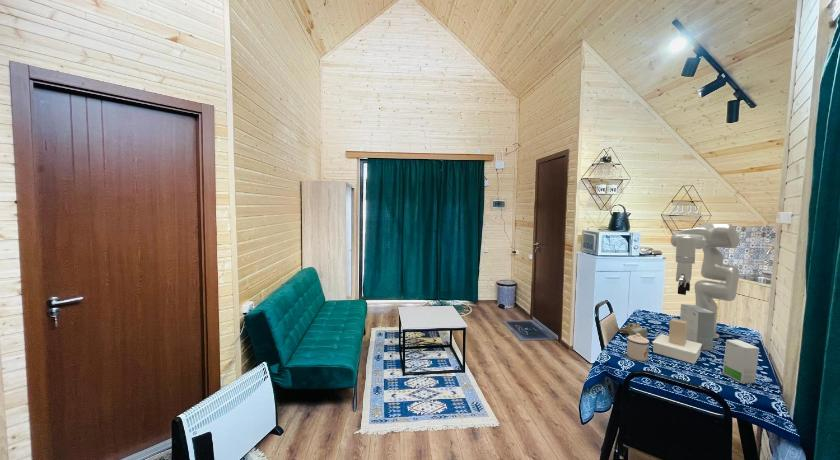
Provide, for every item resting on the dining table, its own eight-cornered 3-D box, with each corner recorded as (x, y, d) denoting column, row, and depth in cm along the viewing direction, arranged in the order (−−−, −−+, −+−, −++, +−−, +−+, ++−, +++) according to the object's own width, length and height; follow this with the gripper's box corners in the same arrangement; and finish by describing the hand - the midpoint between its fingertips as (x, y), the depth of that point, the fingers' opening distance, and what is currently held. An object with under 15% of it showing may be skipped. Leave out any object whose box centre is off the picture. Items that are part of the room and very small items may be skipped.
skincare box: (722, 373, 140) (724, 339, 139) (735, 373, 140) (738, 339, 139) (742, 384, 131) (745, 347, 131) (757, 383, 132) (760, 347, 131)
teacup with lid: (648, 363, 149) (650, 339, 148) (625, 358, 154) (627, 334, 153) (648, 353, 159) (649, 331, 158) (626, 349, 164) (627, 327, 163)
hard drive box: (713, 351, 162) (715, 313, 161) (696, 350, 164) (698, 312, 162) (693, 339, 177) (695, 304, 176) (678, 338, 179) (680, 303, 178)
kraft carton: (671, 339, 163) (672, 318, 163) (686, 343, 159) (687, 321, 158) (668, 342, 160) (669, 320, 159) (683, 346, 156) (685, 323, 155)
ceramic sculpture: (638, 326, 172) (616, 318, 187) (638, 342, 172) (616, 333, 187) (654, 325, 175) (631, 318, 189) (654, 341, 175) (631, 332, 189)
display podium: (660, 343, 172) (661, 333, 171) (701, 354, 159) (702, 343, 159) (651, 352, 161) (652, 342, 160) (695, 364, 148) (696, 353, 148)
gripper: (679, 256, 170) (678, 287, 172) (672, 261, 159) (670, 294, 160) (697, 258, 165) (696, 290, 166) (691, 263, 153) (689, 297, 155)
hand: (683, 292), depth 163 cm, fingers open, 9 cm apart
